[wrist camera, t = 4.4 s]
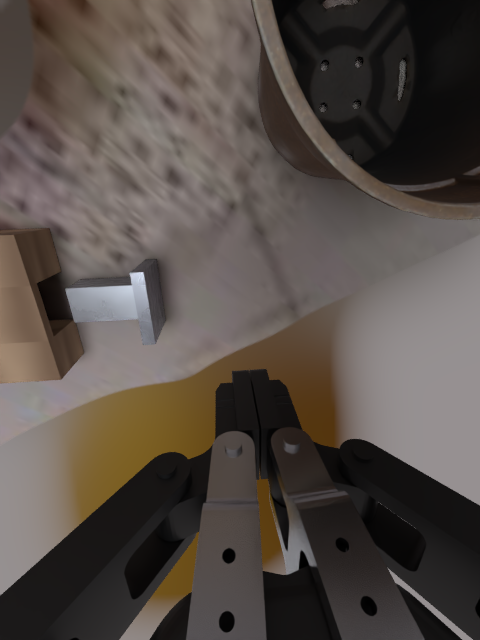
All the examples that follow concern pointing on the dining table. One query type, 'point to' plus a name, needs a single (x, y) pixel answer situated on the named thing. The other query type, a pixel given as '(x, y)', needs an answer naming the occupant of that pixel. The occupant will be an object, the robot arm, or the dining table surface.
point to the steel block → (122, 300)
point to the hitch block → (31, 311)
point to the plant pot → (377, 97)
